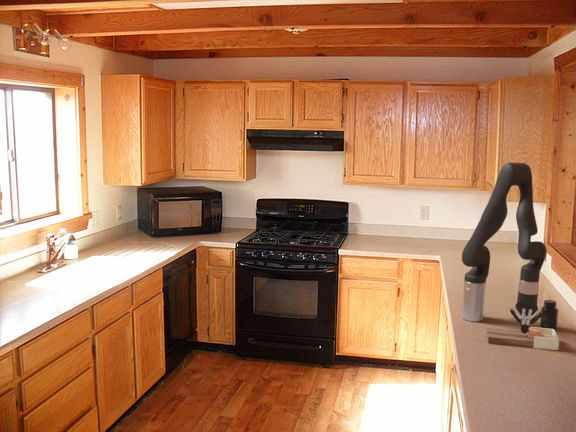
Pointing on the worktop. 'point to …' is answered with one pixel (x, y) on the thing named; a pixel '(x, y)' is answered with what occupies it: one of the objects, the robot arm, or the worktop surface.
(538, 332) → the tile
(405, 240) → the worktop surface
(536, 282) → the robot arm
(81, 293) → the worktop surface
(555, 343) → the tray
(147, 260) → the worktop surface
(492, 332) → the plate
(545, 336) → the tile
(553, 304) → the supplement bottle
